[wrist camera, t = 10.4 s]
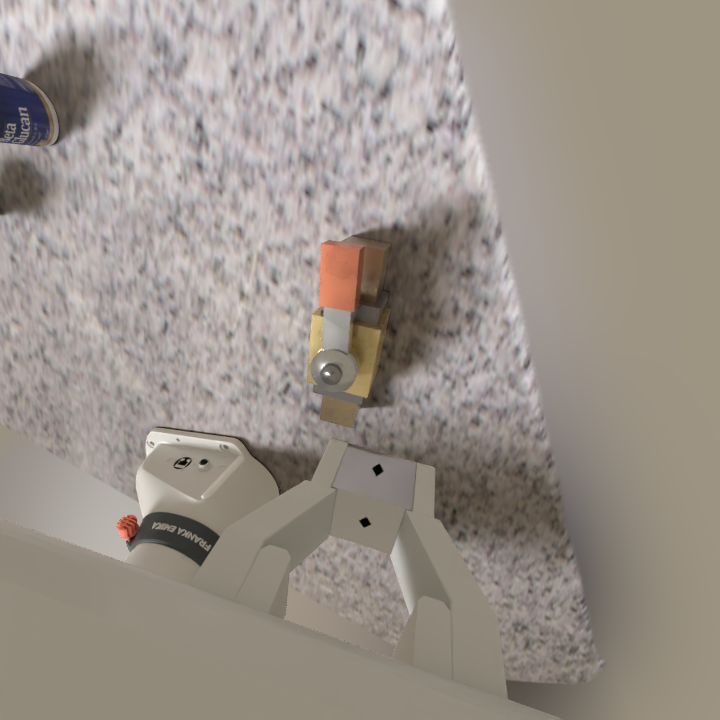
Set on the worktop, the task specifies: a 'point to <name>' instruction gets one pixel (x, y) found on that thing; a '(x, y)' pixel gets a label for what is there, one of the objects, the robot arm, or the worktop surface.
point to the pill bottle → (26, 114)
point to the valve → (358, 336)
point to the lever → (338, 315)
